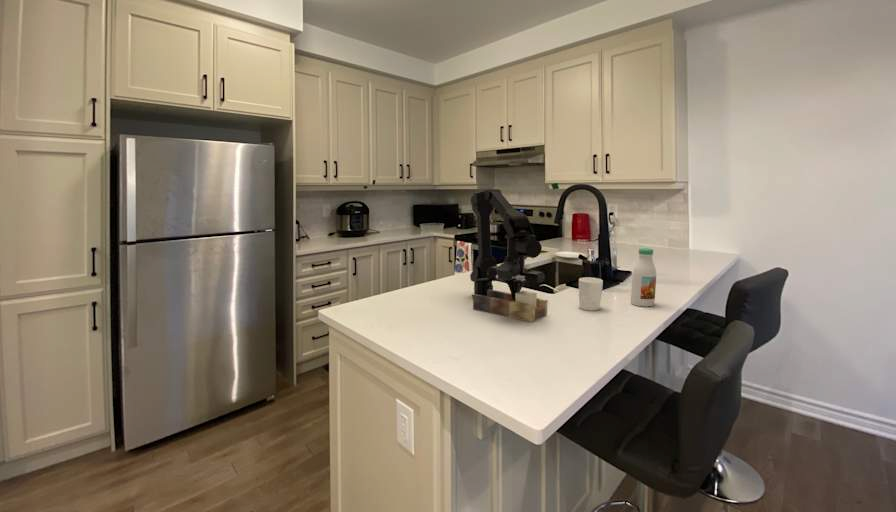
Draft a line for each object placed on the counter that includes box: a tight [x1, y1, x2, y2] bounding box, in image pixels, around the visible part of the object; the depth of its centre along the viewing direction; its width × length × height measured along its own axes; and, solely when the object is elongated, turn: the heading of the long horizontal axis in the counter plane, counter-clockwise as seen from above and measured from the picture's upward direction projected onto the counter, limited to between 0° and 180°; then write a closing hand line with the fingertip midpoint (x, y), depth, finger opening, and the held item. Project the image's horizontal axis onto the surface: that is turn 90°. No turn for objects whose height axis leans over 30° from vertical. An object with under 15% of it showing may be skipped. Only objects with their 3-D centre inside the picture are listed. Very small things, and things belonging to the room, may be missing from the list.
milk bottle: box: [630, 247, 657, 308], centre depth 148 cm, size 8×8×20 cm
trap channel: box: [472, 289, 549, 323], centre depth 142 cm, size 23×10×5 cm, turn 51°
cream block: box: [515, 289, 538, 308], centre depth 138 cm, size 5×5×5 cm
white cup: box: [578, 276, 604, 311], centre depth 145 cm, size 8×8×10 cm
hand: (514, 299), depth 140 cm, fingers closed
